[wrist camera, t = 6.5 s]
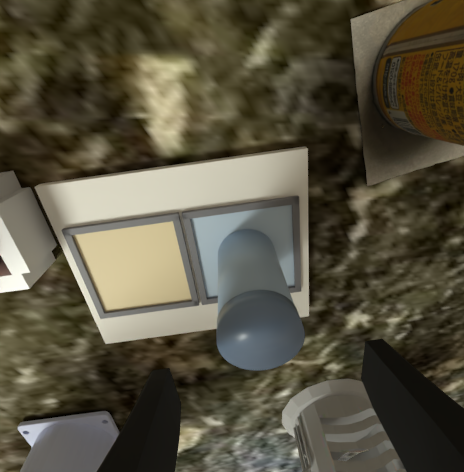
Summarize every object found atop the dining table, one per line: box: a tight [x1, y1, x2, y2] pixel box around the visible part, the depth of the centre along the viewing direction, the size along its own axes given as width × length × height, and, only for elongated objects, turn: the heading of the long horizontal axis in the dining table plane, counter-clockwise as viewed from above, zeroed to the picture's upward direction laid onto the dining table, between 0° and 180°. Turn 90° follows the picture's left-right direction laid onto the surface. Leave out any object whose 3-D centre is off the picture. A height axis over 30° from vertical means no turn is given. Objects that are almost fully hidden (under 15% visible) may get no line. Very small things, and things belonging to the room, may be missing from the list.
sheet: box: [34, 146, 309, 344], centre depth 19 cm, size 12×15×1 cm
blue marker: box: [217, 229, 305, 370], centre depth 15 cm, size 4×4×7 cm
